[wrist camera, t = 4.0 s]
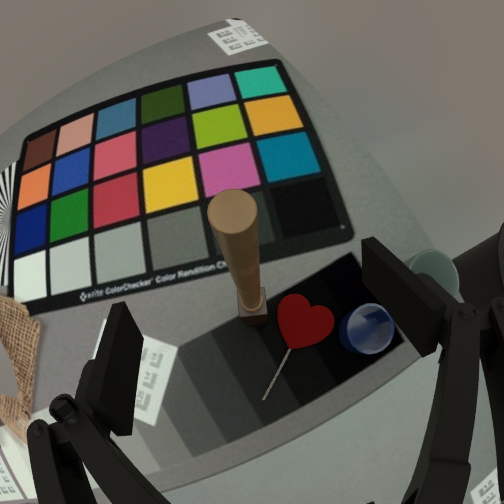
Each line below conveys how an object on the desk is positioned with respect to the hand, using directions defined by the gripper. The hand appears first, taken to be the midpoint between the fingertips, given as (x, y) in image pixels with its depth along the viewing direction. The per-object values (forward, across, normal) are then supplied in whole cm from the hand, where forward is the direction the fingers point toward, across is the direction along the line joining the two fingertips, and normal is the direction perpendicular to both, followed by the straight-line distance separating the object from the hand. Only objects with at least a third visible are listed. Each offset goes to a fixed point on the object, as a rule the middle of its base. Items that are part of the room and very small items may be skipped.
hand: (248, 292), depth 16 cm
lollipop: (+16, +3, -22) cm, 27 cm away
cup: (+18, +22, -20) cm, 35 cm away
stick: (+10, 0, -8) cm, 13 cm away
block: (+20, 0, -18) cm, 27 cm away
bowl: (+16, +14, -22) cm, 30 cm away
